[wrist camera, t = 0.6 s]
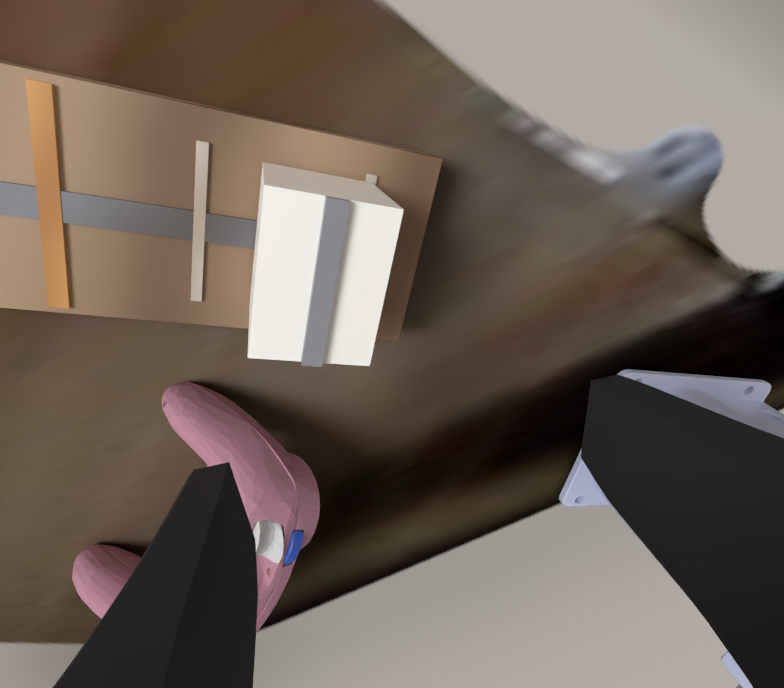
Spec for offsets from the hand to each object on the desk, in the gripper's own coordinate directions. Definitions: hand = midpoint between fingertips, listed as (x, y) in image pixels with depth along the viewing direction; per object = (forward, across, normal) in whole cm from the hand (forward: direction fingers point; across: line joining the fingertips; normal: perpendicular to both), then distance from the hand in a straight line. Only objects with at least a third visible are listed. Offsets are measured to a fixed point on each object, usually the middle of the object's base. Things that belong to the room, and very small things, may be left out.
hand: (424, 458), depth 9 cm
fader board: (+9, +4, -4) cm, 10 cm away
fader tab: (+7, +1, -3) cm, 8 cm away
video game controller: (+9, +7, +7) cm, 13 cm away
